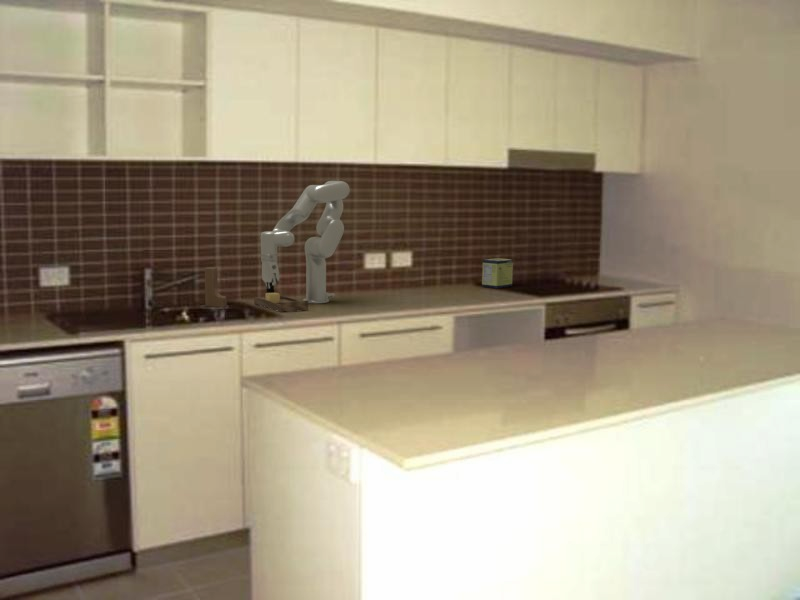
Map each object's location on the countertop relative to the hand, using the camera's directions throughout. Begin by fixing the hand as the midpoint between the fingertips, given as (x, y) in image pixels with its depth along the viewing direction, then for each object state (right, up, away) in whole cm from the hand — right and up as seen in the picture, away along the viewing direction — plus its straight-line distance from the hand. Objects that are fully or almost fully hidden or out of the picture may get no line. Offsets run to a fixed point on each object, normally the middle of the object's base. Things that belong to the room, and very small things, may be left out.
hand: (270, 296), depth 415 cm
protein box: (+116, +6, +84) cm, 144 cm away
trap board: (+5, -5, -3) cm, 8 cm away
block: (+2, -2, -4) cm, 5 cm away
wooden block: (-25, -5, -5) cm, 26 cm away
